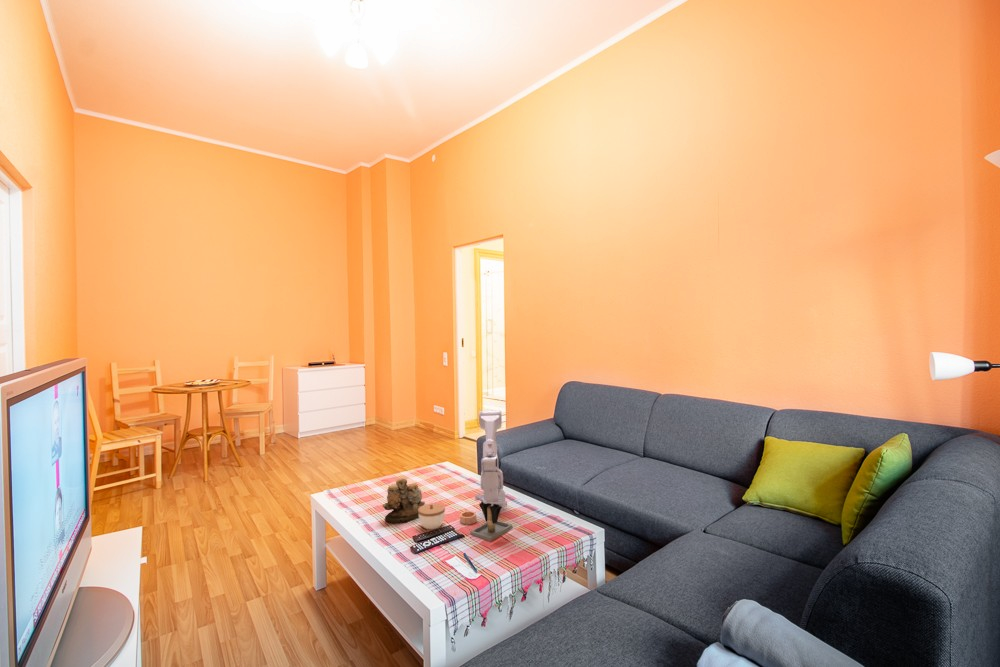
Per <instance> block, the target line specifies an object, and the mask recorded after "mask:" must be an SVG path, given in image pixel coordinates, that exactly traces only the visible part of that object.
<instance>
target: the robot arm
mask: <svg viewBox="0 0 1000 667" xmlns="http://www.w3.org/2000/svg"><path fill="white" fill-rule="evenodd" d="M502 420H503V419H502V410H500V409H498V410H479V412H478V423H479V424H478V425H479V427H480V429H481V430H484V434H485V441H484V442H483V444H482V459H481V461H480V462H481V466H480V467H481V473H480V490H482V491H483V492H482V493H483V494H481V493H479V494H475V496H474V499H475V501H481V502H480V503H479V508H480V511H481V512H482V513H483V516H484V520H485V523H486V522H487V507H488V506H491V507H490V510H491V513H492V523H493V524H495V523H497V520H498V521H499V519H498V518H499V517H500V512H502V511H503V510H505V509H507V507H508V501H506V492H505V490H504V475H503V474H504V473H503V471H502V470H501V469H500V468H499V457H498V443H497V441H496V440H497V437H496V436H497V432H498V431H497V430H499V429H501V428H502V424H503V423H502Z"/></svg>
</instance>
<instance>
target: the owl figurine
mask: <svg viewBox="0 0 1000 667" xmlns="http://www.w3.org/2000/svg"><path fill="white" fill-rule="evenodd" d="M407 483H408V480H407V478H405V477H398V479H397V480H396V482H395V483H392V484H390V485H389V486H388V487H387V495H386V501H387V502H386V503H385V502H384V503H383V504H382V507H383V508H384V510H385V511H390V512H388V513H387V514H386V515H385V516H384V520H385V522H386V523H389V524H392V525H393V524H396V525H397V524H407V523H408V522H411V521H414V520H417V519H419V513H418V509H419V508H420V507H421V506H423V505H426V502H425V501H422V500H423V494H422V489H421V488H420V487H419V485H418V484H417V483H414V482H413V483H411V484H409V485H408V484H407Z"/></svg>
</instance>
